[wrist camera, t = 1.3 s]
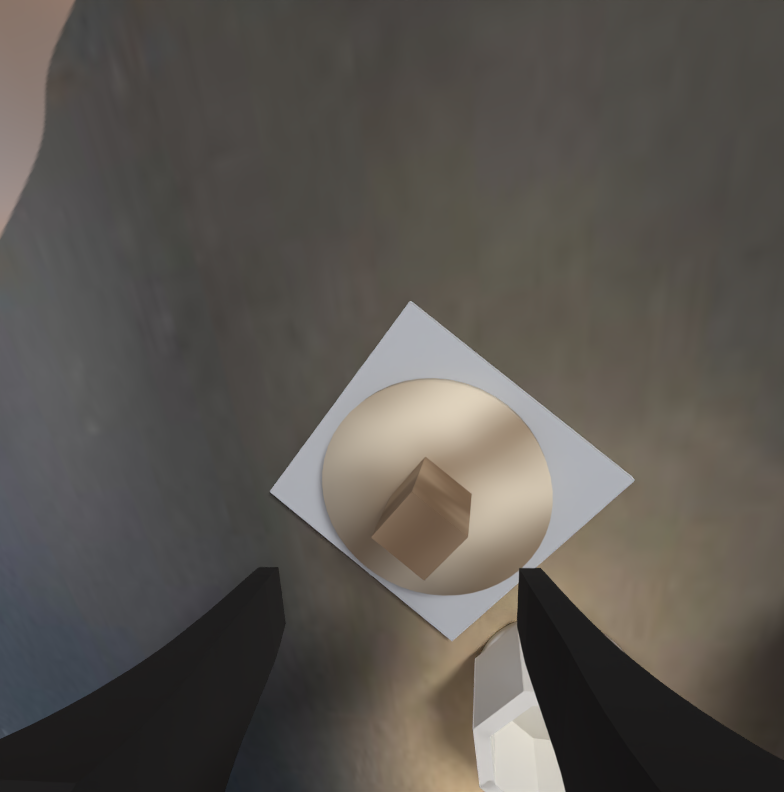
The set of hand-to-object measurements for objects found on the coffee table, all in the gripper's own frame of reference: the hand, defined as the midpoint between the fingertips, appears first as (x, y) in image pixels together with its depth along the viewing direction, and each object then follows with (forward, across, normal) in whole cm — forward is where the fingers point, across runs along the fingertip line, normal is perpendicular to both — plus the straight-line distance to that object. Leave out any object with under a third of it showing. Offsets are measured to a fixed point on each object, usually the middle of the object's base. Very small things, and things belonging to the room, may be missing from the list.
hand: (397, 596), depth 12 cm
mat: (+11, -1, +2) cm, 11 cm away
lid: (+10, -1, +2) cm, 11 cm away
